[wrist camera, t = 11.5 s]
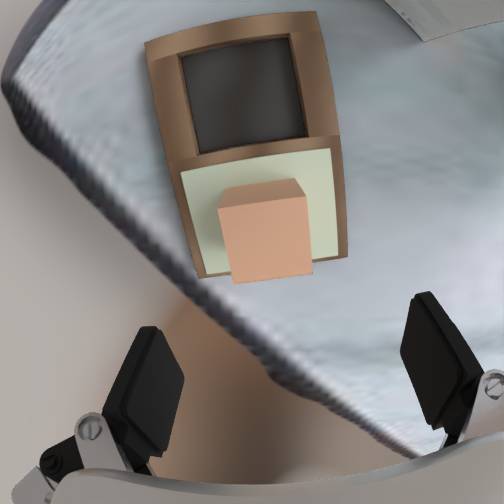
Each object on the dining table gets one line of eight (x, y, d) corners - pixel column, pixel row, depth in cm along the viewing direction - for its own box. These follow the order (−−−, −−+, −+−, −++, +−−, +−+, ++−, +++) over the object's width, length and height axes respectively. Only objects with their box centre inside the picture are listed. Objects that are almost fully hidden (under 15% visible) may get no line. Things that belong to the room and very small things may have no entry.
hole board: (312, 17, 17) (316, 10, 15) (343, 250, 26) (348, 258, 25) (150, 46, 18) (142, 42, 17) (201, 270, 28) (198, 280, 26)
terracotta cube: (295, 178, 22) (306, 196, 17) (301, 241, 24) (312, 273, 19) (226, 188, 22) (217, 208, 17) (238, 249, 25) (233, 284, 20)
